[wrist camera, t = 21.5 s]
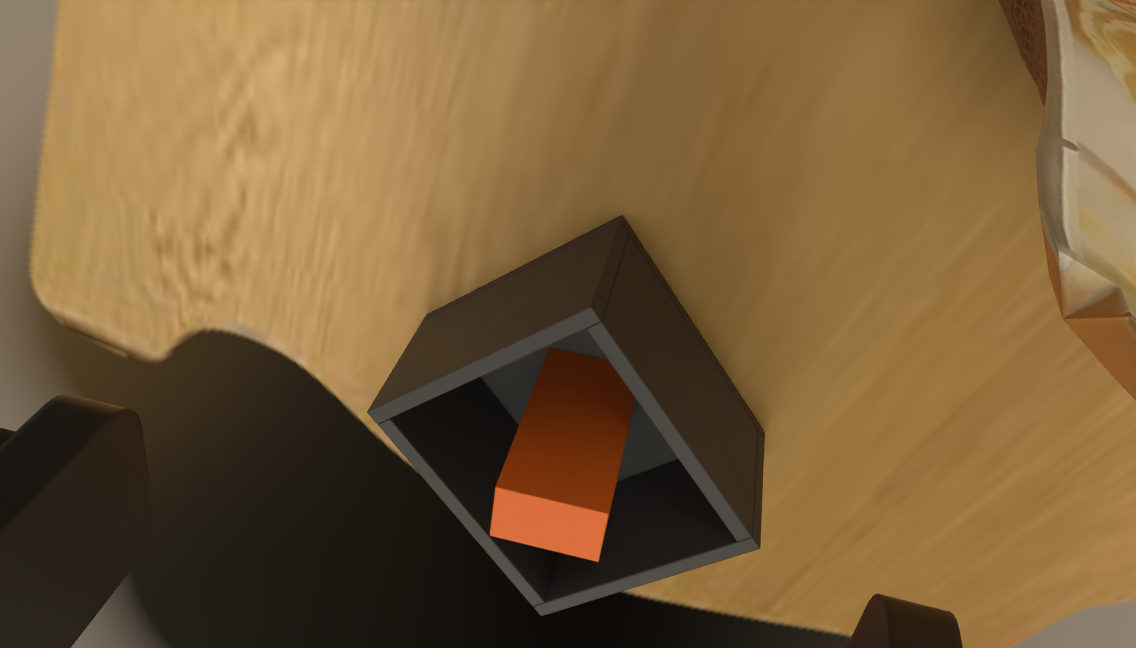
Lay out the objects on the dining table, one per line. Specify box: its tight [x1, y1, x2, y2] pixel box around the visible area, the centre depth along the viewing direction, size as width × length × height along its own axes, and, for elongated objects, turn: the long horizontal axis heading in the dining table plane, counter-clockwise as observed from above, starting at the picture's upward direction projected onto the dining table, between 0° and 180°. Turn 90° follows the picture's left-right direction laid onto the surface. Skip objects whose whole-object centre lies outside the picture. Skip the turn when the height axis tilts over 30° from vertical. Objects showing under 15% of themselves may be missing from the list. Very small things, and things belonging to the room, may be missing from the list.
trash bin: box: [367, 216, 765, 616], centre depth 48 cm, size 15×13×9 cm
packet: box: [490, 347, 636, 562], centre depth 46 cm, size 5×3×11 cm, turn 82°
